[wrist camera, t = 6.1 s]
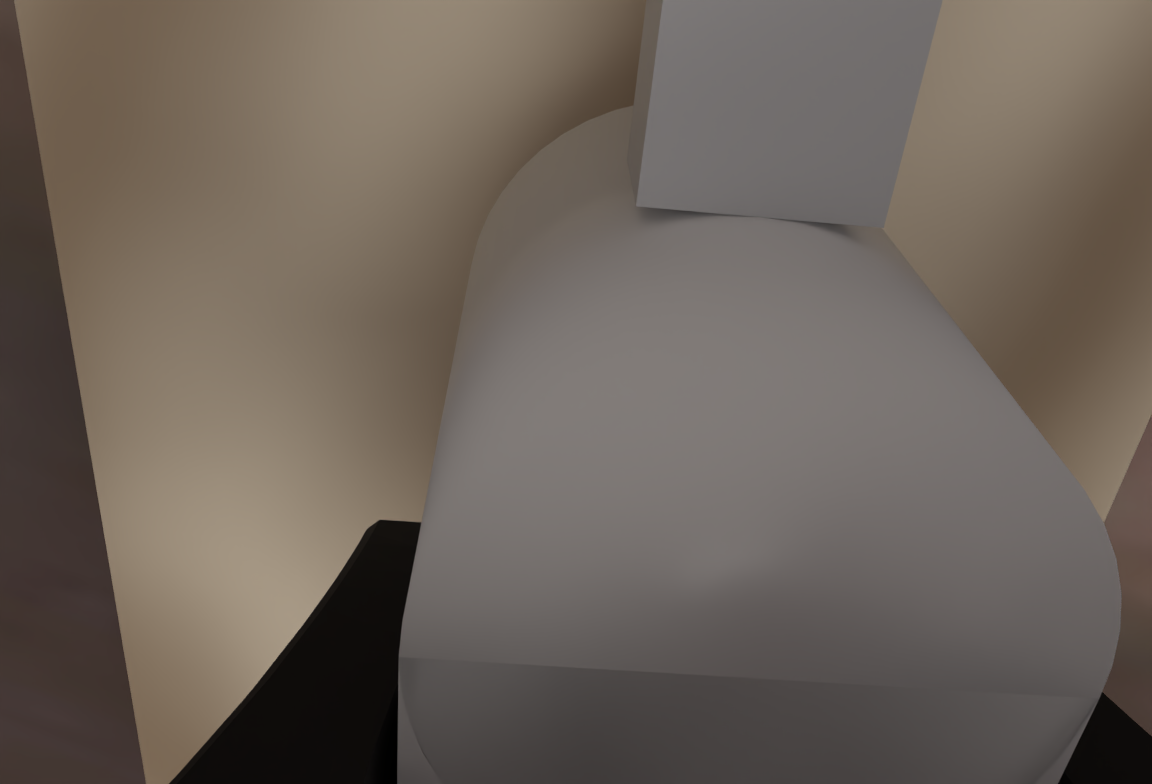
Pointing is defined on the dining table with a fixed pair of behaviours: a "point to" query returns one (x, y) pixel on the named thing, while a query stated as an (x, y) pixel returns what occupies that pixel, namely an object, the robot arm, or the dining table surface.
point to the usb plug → (741, 455)
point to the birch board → (444, 256)
